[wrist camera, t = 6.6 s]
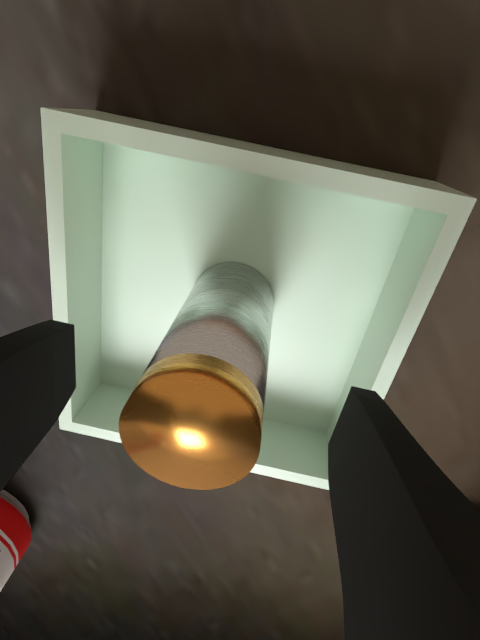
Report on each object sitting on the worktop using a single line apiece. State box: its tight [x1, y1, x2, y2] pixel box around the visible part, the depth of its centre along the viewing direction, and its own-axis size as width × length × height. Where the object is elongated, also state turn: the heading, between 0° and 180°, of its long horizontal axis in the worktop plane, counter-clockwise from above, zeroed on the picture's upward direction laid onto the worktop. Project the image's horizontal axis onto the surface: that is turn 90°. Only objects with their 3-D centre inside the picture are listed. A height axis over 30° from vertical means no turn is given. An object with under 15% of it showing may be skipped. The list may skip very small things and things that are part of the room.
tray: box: [41, 107, 477, 490], centre depth 13 cm, size 11×11×3 cm
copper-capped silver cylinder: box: [119, 261, 274, 490], centre depth 11 cm, size 3×3×7 cm
